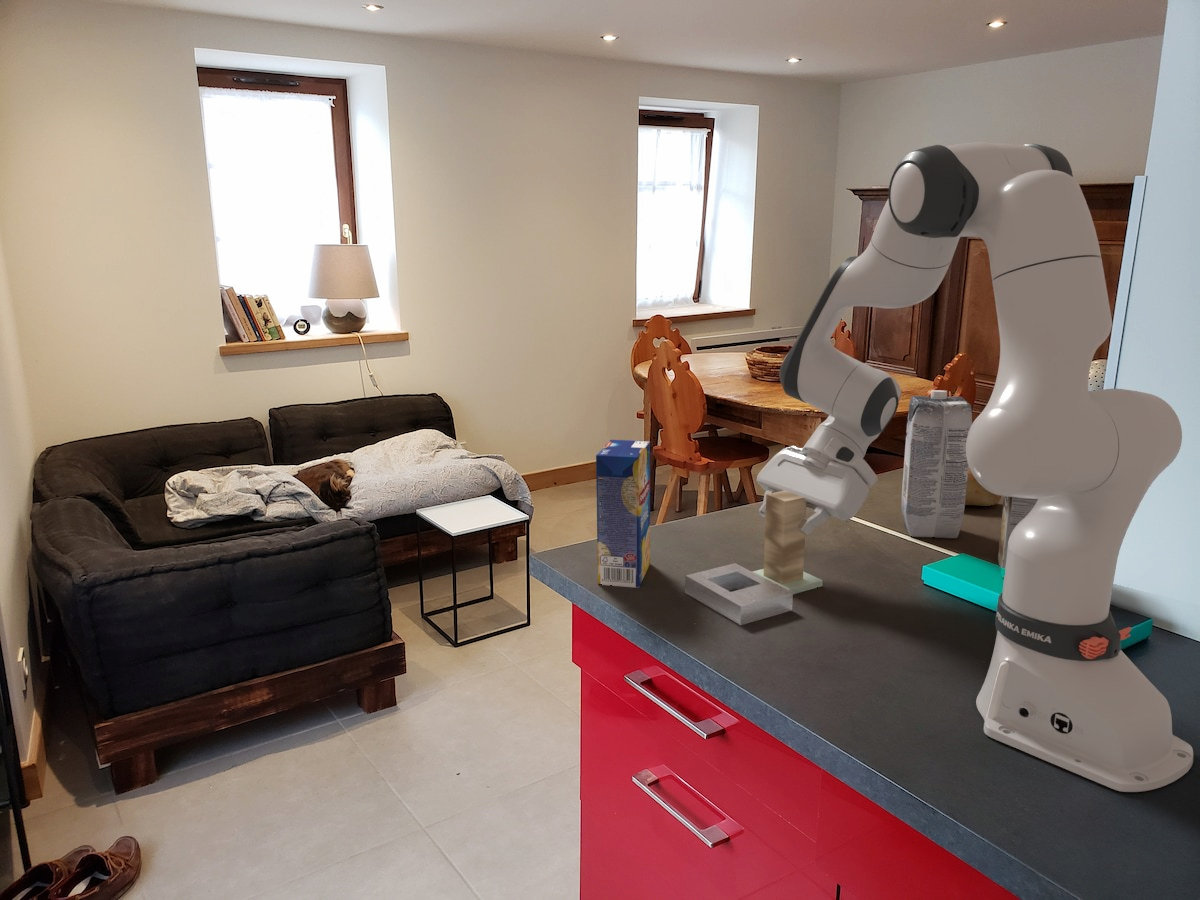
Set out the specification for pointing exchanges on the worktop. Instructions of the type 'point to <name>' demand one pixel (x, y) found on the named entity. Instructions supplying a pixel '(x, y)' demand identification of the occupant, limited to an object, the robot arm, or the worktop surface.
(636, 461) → the beverage box
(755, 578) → the grey square socket plate
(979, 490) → the bread roll
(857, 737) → the worktop surface
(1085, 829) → the worktop surface
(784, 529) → the oak peg
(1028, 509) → the coffee box
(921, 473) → the juice carton
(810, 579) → the pad
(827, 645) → the worktop surface
